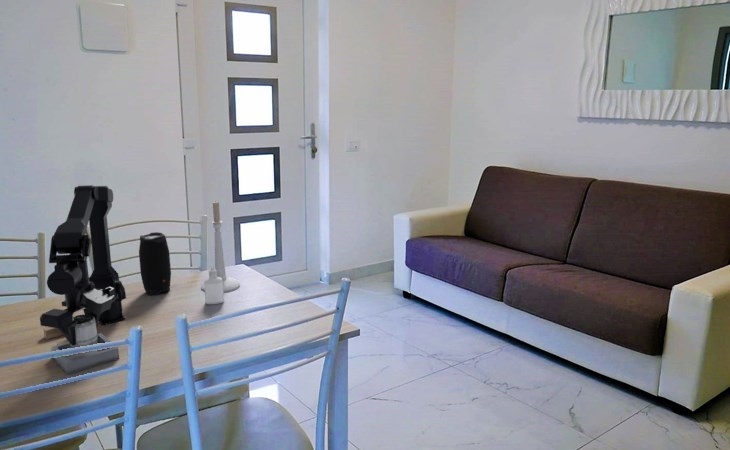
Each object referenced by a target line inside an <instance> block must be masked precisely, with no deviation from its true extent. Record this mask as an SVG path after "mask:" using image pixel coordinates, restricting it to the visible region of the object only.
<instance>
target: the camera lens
mask: <svg viewBox="0 0 730 450" xmlns="http://www.w3.org/2000/svg"><path fill="white" fill-rule="evenodd" d="M73 319H74V320H76V321H78V323H77V324H76V325H75V334H76V345H71V344H70V346H71V347H72V348H75V347H80V346H87V345H93V344H97V334H98V332H97V330H98V329H97V330H96V322H95V318H94V317H93V316H92V315H85V314H77V315H73Z"/></svg>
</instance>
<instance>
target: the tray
mask: <svg viewBox="0 0 730 450" xmlns="http://www.w3.org/2000/svg"><path fill="white" fill-rule="evenodd" d="M105 342H112V341H111V340H110V339H108V337H106V336H105V335H104V334H103V333H102V332H100V333H97V343H105ZM67 348H72V347H71V346H70V343H69V342H67V343H63V344H60V345H57V344H56V345H53V346H51V352H52V351H56V350H62V349H67ZM52 359H53V360H54V361H55V362H56V363H57V365H59V367H60V368H61V369H62V370H63V372H64V373H65V374H66V375H67V376H69V375H72V374H75V373H79V372H82V371H84V370H89V369H91V368H95V367H98V366H102V365H104V364H108V363H109V362H113V361H117V360H120V353H119V347H118V346H117V347H112V348H107V349H102V350H97V351H89V352H85V353H78V354H73V355H69V356H61V357H57V358H53V357H52Z"/></svg>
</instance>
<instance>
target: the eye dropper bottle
mask: <svg viewBox="0 0 730 450" xmlns="http://www.w3.org/2000/svg"><path fill="white" fill-rule="evenodd" d="M203 284H204V285H205V291H204V296H205V304H206V305H217V304H223V303H224V301H225V297H224V293H223V281H222V278H220V277H217V270H215V265H212V266H210V270H208V277H207V278H204V282H203Z"/></svg>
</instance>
